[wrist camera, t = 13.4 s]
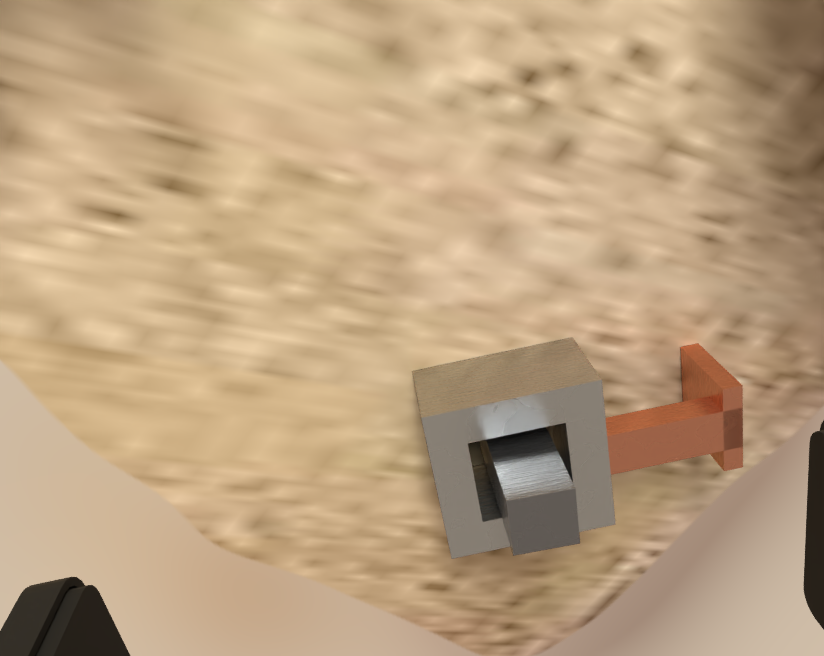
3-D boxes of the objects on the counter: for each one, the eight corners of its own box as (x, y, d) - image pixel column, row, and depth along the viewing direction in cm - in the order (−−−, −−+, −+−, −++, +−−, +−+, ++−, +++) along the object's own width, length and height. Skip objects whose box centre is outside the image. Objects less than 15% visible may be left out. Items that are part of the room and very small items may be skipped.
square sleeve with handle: (440, 501, 44) (451, 558, 39) (412, 371, 40) (421, 417, 35) (701, 446, 44) (742, 497, 39) (697, 311, 40) (742, 350, 35)
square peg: (529, 393, 41) (575, 488, 33) (534, 440, 43) (580, 543, 34) (473, 403, 41) (506, 501, 33) (480, 450, 42) (513, 555, 34)
